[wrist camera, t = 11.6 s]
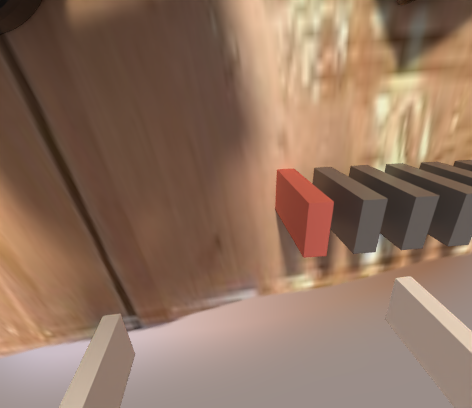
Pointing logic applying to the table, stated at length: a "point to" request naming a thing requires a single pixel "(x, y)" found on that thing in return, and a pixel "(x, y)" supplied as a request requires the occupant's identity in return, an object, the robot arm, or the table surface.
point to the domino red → (304, 212)
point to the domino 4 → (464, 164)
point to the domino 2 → (400, 206)
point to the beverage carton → (404, 2)
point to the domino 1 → (352, 209)
